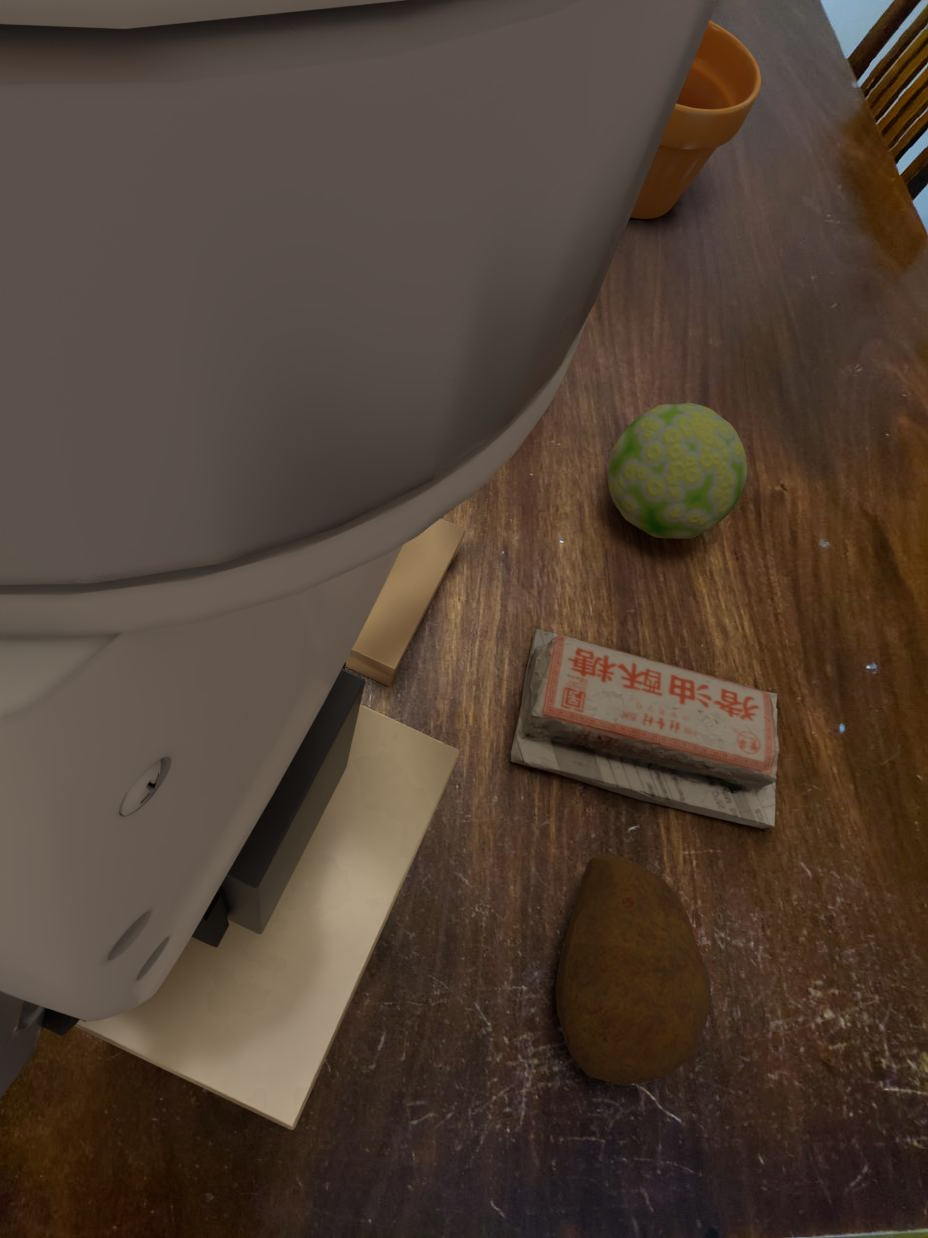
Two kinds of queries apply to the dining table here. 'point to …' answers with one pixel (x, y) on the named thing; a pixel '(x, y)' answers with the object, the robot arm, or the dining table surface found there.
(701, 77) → the flower pot
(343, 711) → the block
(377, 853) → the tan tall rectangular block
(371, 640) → the tan flat square block
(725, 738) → the packaged product
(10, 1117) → the dining table surface
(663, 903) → the potato
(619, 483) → the decorative ball
